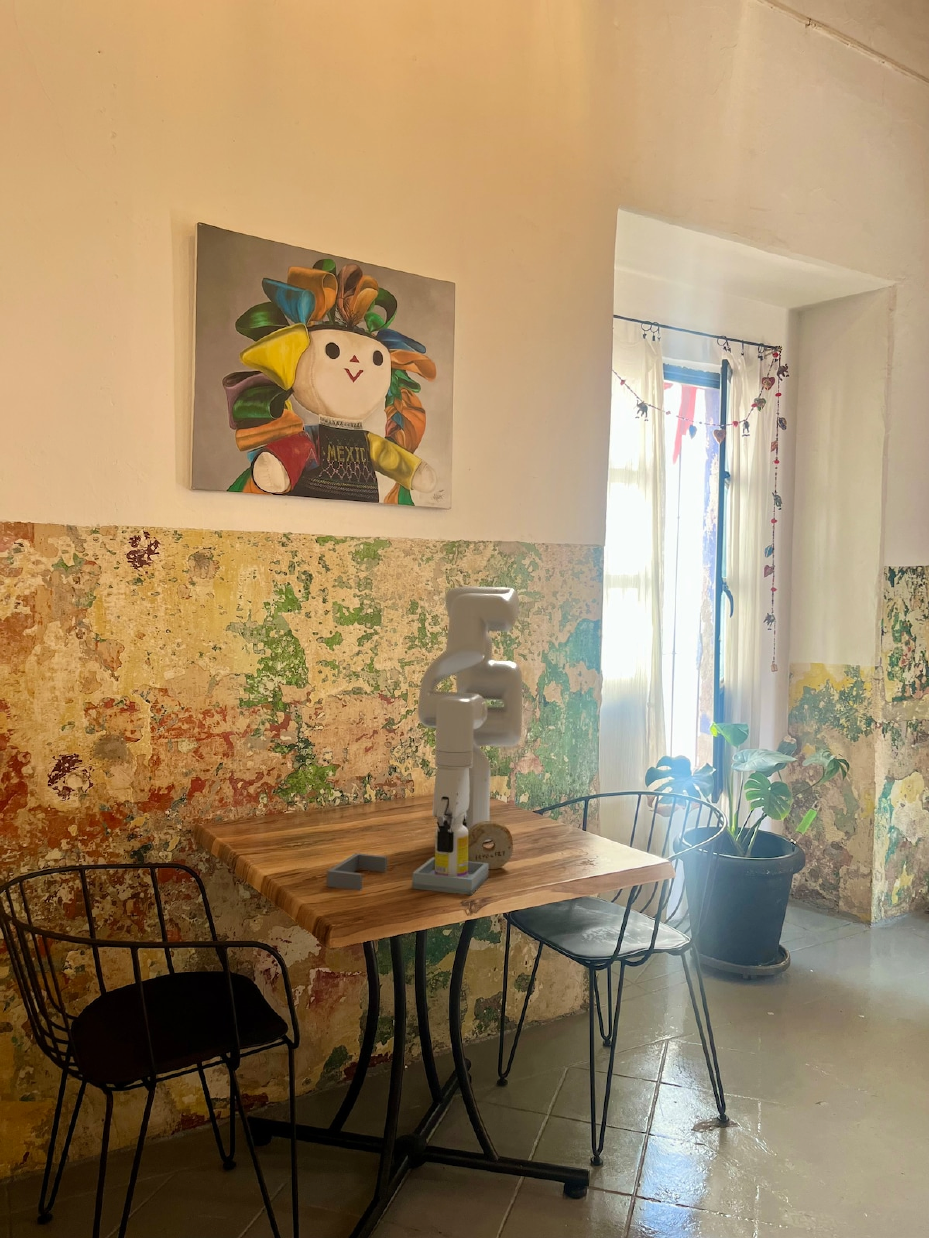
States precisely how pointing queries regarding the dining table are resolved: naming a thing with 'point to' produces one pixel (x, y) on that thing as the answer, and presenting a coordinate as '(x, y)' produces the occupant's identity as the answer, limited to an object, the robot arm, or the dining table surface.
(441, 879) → the tray
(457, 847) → the supplement bottle
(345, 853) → the dining table surface
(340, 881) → the bay
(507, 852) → the stone disc
